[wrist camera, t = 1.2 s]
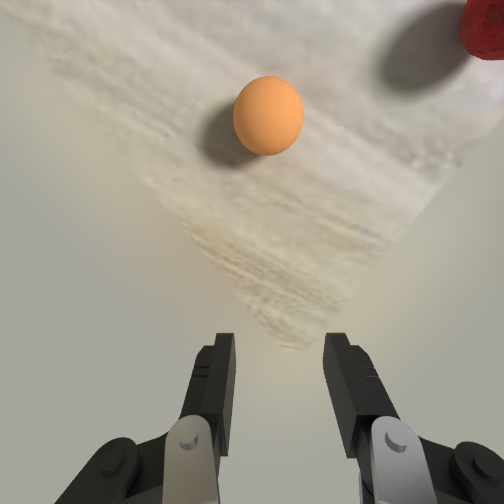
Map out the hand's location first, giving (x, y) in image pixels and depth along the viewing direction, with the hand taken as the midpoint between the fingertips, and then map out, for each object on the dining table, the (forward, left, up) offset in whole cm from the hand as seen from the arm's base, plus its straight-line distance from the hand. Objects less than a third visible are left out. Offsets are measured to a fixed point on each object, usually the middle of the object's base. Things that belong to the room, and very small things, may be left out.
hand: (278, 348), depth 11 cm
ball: (-10, 0, -15) cm, 17 cm away
